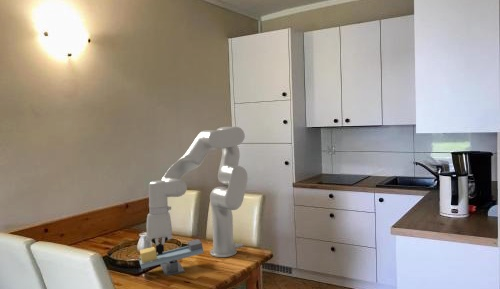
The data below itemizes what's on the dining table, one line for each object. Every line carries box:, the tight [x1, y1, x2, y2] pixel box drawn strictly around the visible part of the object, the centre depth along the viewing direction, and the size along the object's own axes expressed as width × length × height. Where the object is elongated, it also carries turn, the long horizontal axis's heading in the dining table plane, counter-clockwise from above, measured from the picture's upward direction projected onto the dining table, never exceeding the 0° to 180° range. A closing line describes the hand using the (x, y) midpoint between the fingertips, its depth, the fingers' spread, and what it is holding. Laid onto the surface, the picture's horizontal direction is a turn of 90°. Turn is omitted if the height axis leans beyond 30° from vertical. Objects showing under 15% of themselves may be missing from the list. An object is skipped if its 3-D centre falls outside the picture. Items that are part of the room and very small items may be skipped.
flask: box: [139, 235, 153, 258], centre depth 179 cm, size 7×7×10 cm
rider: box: [139, 246, 157, 263], centre depth 161 cm, size 6×5×4 cm
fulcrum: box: [160, 260, 185, 276], centre depth 165 cm, size 8×12×4 cm, turn 21°
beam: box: [138, 238, 205, 270], centre depth 164 cm, size 26×9×5 cm, turn 111°
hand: (160, 253), depth 163 cm, fingers closed
